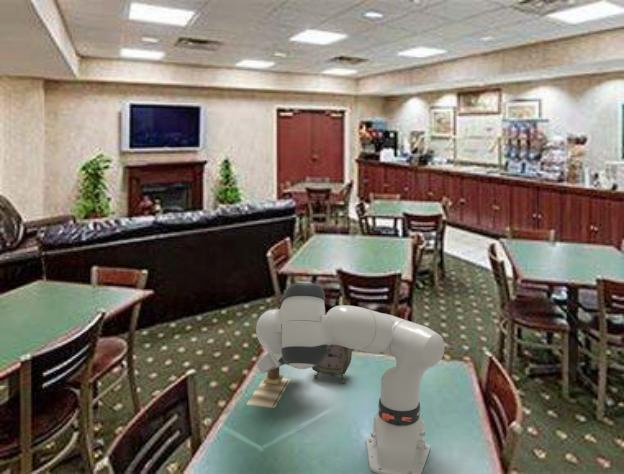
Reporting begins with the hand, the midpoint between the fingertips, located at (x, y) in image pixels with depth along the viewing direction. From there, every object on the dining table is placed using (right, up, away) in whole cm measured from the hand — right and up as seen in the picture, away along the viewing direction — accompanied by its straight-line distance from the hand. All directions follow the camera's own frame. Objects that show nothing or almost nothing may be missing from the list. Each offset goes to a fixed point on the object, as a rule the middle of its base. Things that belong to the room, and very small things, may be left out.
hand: (272, 367), depth 190 cm
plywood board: (-1, -9, -4) cm, 10 cm away
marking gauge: (0, -5, 0) cm, 5 cm away
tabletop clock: (+22, -7, +10) cm, 25 cm away
